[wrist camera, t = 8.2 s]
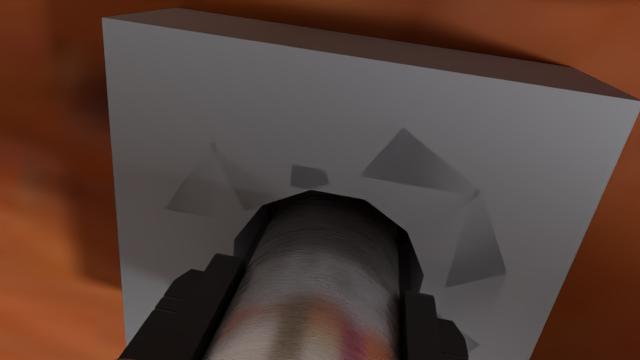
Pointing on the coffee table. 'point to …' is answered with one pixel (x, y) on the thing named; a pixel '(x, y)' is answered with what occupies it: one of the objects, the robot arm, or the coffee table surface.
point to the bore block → (357, 158)
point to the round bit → (317, 286)
